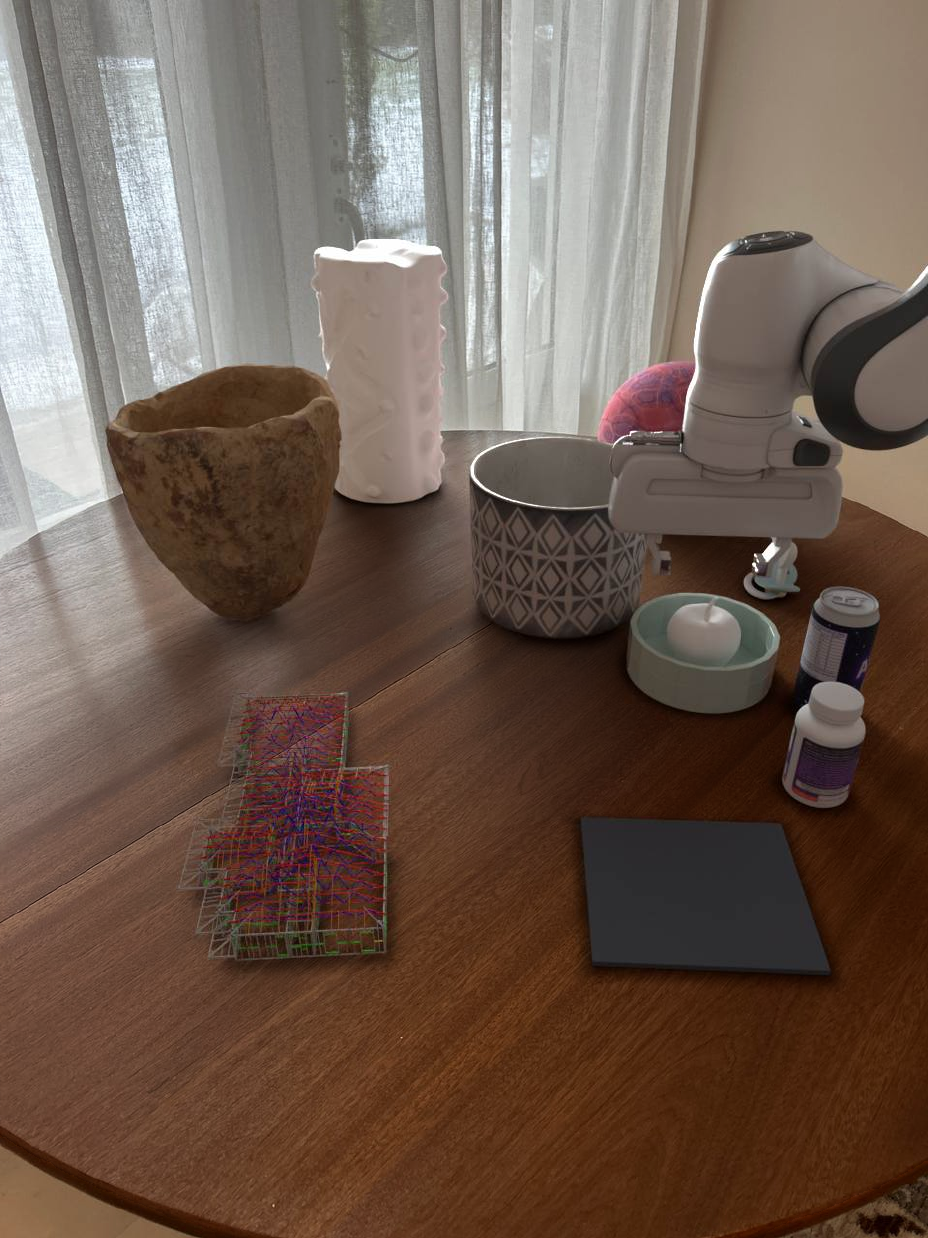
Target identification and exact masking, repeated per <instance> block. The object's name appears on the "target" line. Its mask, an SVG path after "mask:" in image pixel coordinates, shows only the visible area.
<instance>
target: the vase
mask: <svg viewBox="0 0 928 1238" xmlns="http://www.w3.org/2000/svg"><path fill="white" fill-rule="evenodd" d="M312 258H313V260H314V261H313V267H314V269H315V275H313V277H312V278H311V280H310V285H311V289H313V291H314V292H316V293H315V298H316V299H317V302H318V315H319V327H320V331H319V334H318V335H317V341H318V343H319V344H321V351H322V358H323V361H324V364H325V367H326V373H325V376H324V379H325V380H326V381H327V382H328V385H329V387H330V390H331V392H332V393H333V395H334V397H335V400H336V403H337V407H338V410H339V421H338V422H339V426H340V429H341V435H342V440H341V441H340V449H339V458H340V468H339V474H338V477H337V480H336V483H335V487H334V490H335V491H337V493H340V495H343V496H345V497H347V498H348V499H351V500H355V501H359V502H362V503H369V504H370V503H371V504H399V503H400V504H401V503H405V502H406V503H407V502H413V501H416V500H419V499H422V498H424V496H426V495H428V494H431V493H433V492H436V491H438V490H439V489H440V485H442V483H443V482H442V481H443V480H442V473H441V470H442V467H443V466H444V465H445V462H446V458H445V454H444V451H443V450H442V449H441V448H442V444H443V442H444V441H445V439H444V437H443V436H442V435H441V423H442V421H443V420H444V419H445V415H444V414H443V413H442V411H441V398H442V396H443V395H445V388H444V387H443V386H442V385H441V384H442V383H441V378H442V376H443V374H445V373H446V369H447V368H446V367H445V365H444V364H443V363H442V361H441V344H442V343H443V341H444V340H445V339H446V338H447V329H446V328H445V326H443V325H442V323H441V308H442V307H443V305H444V304H445V303H447V302H448V300H449V298H450V297H449V293H448V292H447V290H446V289H444V288H443V287H442V278H443V277H444V276H446V274H447V272H448V268H449V267H448V264H447V263H446V261H444V259H443V252H442V250H441V249H440V248H439V247H438V246H433V245H418V244H416V243H414V242H410V241H408V240H405V239H392V238H391V239H388V238H387V239H386V238H385V239H383V238H381V239H380V238H378V239H364V240H360V241H359V242H357V244H356V246H355V247H354V249H353V250H351V251H348V250H345V249H343V248H340V247H339V248H338V247H334V246H322V247H319V248H317V249H316V250H315V251H314V252H313V256H312Z"/></svg>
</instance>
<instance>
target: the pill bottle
mask: <svg viewBox="0 0 928 1238" xmlns="http://www.w3.org/2000/svg"><path fill="white" fill-rule="evenodd" d="M864 705H865V697H864V695H863V694H862V693H861V692H859V691H858V690H856V689H855V688H853V687H851V686H849V685H846V684H843V683H839V682H822V683H818V684H816V685H815V686H814V687H813V689H812V691H811V695H810V699H809V703H808V704H806V705H804V706H803V707H802V708H801V709H800V708H799V710H798V711H797V712H796V715H795V719H794V723H793V727H792V731H791V736H790V740H789V745H788V749H787V753H786V758H785V763H784V766H783V770H782V771H783V773H782V777H781V778H782V779H781V781H782V785H783V787H784V789H785V791H786V792H787V794H788V795H789V796H791V797H792V798H793V799H794V800H796V801H798V802H799V803H801V804H803V805H806V806H809V807H813V808H817V809H831V808H835V807H838V806H840V805H842V804H843V803H844V802H845V801H846V800H847V798H848V797H849V794H850V791H851V787H852V784H853V780H854V776H855V773H856V769H857V765H858V761H859V758H860V755H861V750H862V747H863V744H864V740H865V737H866V731H867V730H866V729H867V728H866V724H865V722H864V720H863V718H862V717H861V716H862V714H863V709H864Z"/></svg>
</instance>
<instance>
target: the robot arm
mask: <svg viewBox="0 0 928 1238" xmlns="http://www.w3.org/2000/svg"><path fill="white" fill-rule="evenodd" d="M693 353H694V359H695V363H696V366H695V373H694V377H693V379H692V381H691V384H690V386H689V388H688V392H687V398H686V405H685V412H684V420H683V428H682V431H681V432H678V431H674V432H673V431H661V432H646V431H632V432H630V435H627V436H624V437H622V438H620V439H619V440H618V441H617V442H616V443H615V444H614V446H613V447H612V451H611V460H610V469H611V472H612V474H613V475H614V479H613V483H612V487H611V492H610V498H609V504H608V516H609V521H610V523H611V525H612V526H613V527H614V529H615V530H616V531H617V532H619V533H639V534H644V536H645V540H646V544H647V548H648V549H649V551H650V553H651V555H652V557H651V558H652V560H651V571H652V574H653V575H670V574H671V573H670V572H671V565H672V557H671V553H670V551H669V550H661V549H660V547H659V545H658V544H661V543H662V542H663V535H673V536H674V535H675V536H677V535H678V536H709V537H710V536H715V537H745V538H747V537H748V538H749V537H751V538H770V539H771V540H772V542H770V544H769V545H768V546H767V548H766V549H765V550H764V552H763V553H754V555H753V559H752V560H753V563H752V564H751V572H752V573H753V574H754V577H764V578H771V576H772V571H773V566H774V563H776V562H777V561H778V560H779V559H780V558H781V557H782V556H783V554H784V553H785V552H786V551H787V550H788V549H789V548H790V546H791V541H792V542H793V539H816V540H823V539H826V538H827V537H829V536H830V535H831V534H832V533H833V532H834V531H836V530H837V529H836V528H837V526H838V524H839V518H840V513H841V507H842V499H843V489H844V488H843V487H844V486H843V485H844V484H843V478H842V475H841V473H840V472H839V470H838V468H837V466H838V465H839V464H840V463H841V461H842V459H843V454H844V448H843V446H842V444H843V445H846V446H849V447H852V448H854V449H859V450H864V451H871V452H872V451H875V452H876V451H877V452H879V451H880V452H881V451H889V450H895V449H900V448H903V447H906V446H910V445H911V444H915V443H917V442H919V441H921V440H922V439H924V438H926V437H928V265H927V266H926V268H924V270H923V271H922V273H921V274H920V275H919V276H918V278H917V279H916V280H915V281H914V282H913V283H912V284H911V285H910V286H909V287H908V288H907V289H906V290H904V289H903V288H901V287H899V286H898V285H896V284H894V283H893V282H890V281H888V280H885V279H882V278H879V277H876V276H874V275H872V274H868V273H866V272H863V271H861V270H859V269H857V268H854V267H853V266H852V265H849V264H847V263H846V262H844V261H843V260H841V259H840V258H838V257H837V256H835V255H834V254H832V253H831V252H830V251H828V250H827V249H826V248H824V246H822V245H821V244H820V243H819V242H818V241H817V239H816V238H815V237H814V236H813V235H811V234H809V233H806V232H803V231H796V230H787V231H784V230H775V231H774V230H773V231H765V232H759V233H753V234H750V235H745V236H743V237H741V238H738V239H735V240H732V241H731V242H729V243H728V244H726V245H725V246H724V247H722V249H721V250H720V251H719V252H717V254H716V255H715V256H714V259H713V260H712V262H711V265H710V267H709V270H708V272H707V275H706V278H705V282H704V286H703V289H702V294H701V299H700V303H699V309H698V315H697V321H696V326H695V332H694V340H693ZM803 396H804V397H805V396H807V397H808V396H809V397H812V402H813V407H814V410H815V414H816V417H817V418H818V419H817V418H815V417H811V416H809V415H806V414H802V413H799V412H797V411H794V410H793V409H794V405H795V401H796V399H798V398H800V397H803ZM626 440H630V442H624V441H626Z"/></svg>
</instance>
